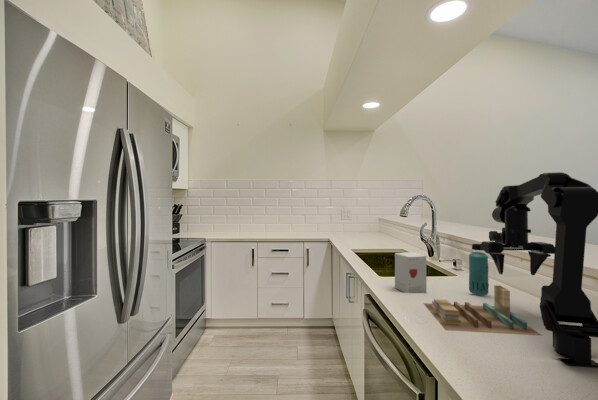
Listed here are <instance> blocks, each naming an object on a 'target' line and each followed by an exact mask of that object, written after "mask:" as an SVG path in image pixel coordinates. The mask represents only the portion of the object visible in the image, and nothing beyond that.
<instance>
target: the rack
mask: <svg viewBox="0 0 598 400" xmlns="http://www.w3.org/2000/svg"><path fill="white" fill-rule="evenodd" d="M451 304H452V303H451ZM423 305H424V306H425V307H426V309H427V310H428V311H429V312H430V313H431V314H432V316H433V317H434V319H435V320H436V321H437V322H439V324H440V325H441V326H442V328H443V329H444V330H445V331H456V332H457V331H458V332H469V333H471V332H472V333H487V334H488V333H490V334H491V333H492V334H509V335H512V334H513V335H524V336H526V335H527V336H543V334H541V333H540V332H539V331H538V330H537V331H536V329H533V328H532V327H530V326H529V325H528V322H527V321H526V320H525V319H523V318H521V317H520V316H518V315H516V314H515V313H513V312H511V311H510V319H509V318H507V317H506V316H504V315H503V314H502V313H500V312H499V311H497V310H496V309H495V307H494V305H493V306H492V305H490V304H489V303H487V302H483V303H482V305H473V304H471V303H470V302H468V301H466V302H464V304H460V303H458V301H453V304H452V305H453V306H454V307H455V308H456V309H457V310H458V311H459V315H458V318H459V319H460V320H461V325H458V324H445V322H444V321H443V320H442V319H441V318H440V317H439V316H438V314H437V313H436V312H435V311H434V310H433V309H432V303H428V302H427V303H424V302H423Z"/></svg>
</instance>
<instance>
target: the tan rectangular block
mask: <svg viewBox="0 0 598 400" xmlns="http://www.w3.org/2000/svg"><path fill="white" fill-rule="evenodd" d="M493 290H494V291H493V292H494V298H493V300H494V301H493V302H494V305H493V306H494V307H495V309H496V310H497V311H499V312H500V313H502V314H503V315H504V316H506V317H507V318H509V319H510V312H511V290H509V289H507V288H506V287H503V286H501V285H498V284H497V285H495V284H494V286H493Z"/></svg>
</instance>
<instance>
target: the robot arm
mask: <svg viewBox="0 0 598 400" xmlns="http://www.w3.org/2000/svg"><path fill="white" fill-rule="evenodd" d="M537 196H540V198H541V199H542V201H544V203H545V204H546V205H547V212H548V214H549V215H550V217H551V219H552V220H553V221H554V222H555V224H556V225H555V227H556V228H555V240H554V241H555V243H554V244H553V243H548V242H544V241H530V242H529V234H532V229H531V228H530V229H529V220H528V219H529V218H528V217H529V213H528V212H531V211H532V210H531V208H530V207H529V206H528V205H529V203H531V202H533V201H534V200H535V197H537ZM491 217H492V219H493V220H494V221H495V222H496V223H500V224H504V227H502V228H501V232H498V231H497V230H491V231H489V232H488V239H489V241H487V240H486V241H482V242H481V243H480V244H481V245H480V250H479V251H484V252H485V254H488V255H490V257H491V258H492V260H493V262H494V264H495V267H496V270H497V271H498V274H499V275H502V276H503V273H504V267H505V266H504V264H505V254H504V253H502V252H504V251H527V253H528V255H529V259H530V260H529V264H530V265H529V267H530V268H529V269H530V270H529V271H530V275H532V276H535V275H536V273H538V270H539V269H540V268H541V266H542V265H543V263H544V262H545V261H546V260H547V258H549V257H552V255H553V257H554V258H553V271H552V272H553V273H552V282H551V283H550V284H549V285H542V287H541V288H540V289H541V291H540V293H541V296H540V299H539V300H540V301H539V309H540V314H541V319H542V323H543V326H544V327H545V328H544V329H545V330H546V331H549V332H552V347H553V348H554V352H555V353H556V354H558V355H559V356H561V357H563V358H560V357H558V358H557V359H558V360H560V361H561V362H563V363H564V364H565V365H567V366H577V367H590V368H591V367H593V368H594V367H595V368H598V362H596V361H595V360H593V359H592V338H597V339H598V318H597V317H596V315H595V313H594V312H593V310H592V303H591V299H589V297H588V295H586V293H585V291H584V290H583V275H584V266H585V265H584V264H585V252H586V250H585V249H586V238H587V229H588V226H589V225H590V224H591V223H593V222H594V220H595V219H596V218H598V190H596V189H595V188H594V187H592V185H590V183H589V184H588V183H586V182H584V181H581V180H578V179H576V178H573V177H572V176H570V175H569V174H567V173H565V172H562V171H561V172H543V173H540V174H539V175H538V176H536V177H535V178H532V179H530V180H527V181H525V182H522V183H521V184H515V185H512V184H511V185H505V186H503V187H502V188H501V189H500V192H499V194H498V196H497V198H496V199H495V208H494V209H493V211H492V213H491ZM559 322H560V323H559ZM563 323H570V324H563ZM573 324H581V325H573Z"/></svg>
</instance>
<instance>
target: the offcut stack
mask: <svg viewBox="0 0 598 400" xmlns="http://www.w3.org/2000/svg"><path fill="white" fill-rule="evenodd" d="M431 304H432V309H433V310H434V311H435V312H436V313H437V314H438V316H439V317H440V318H441V319H442V320H443V321H444V322H445V324H458V325H461V320H460V319H459V318H458V315H459V311H458V310H457V309H456V308H455V307H454V306H453V305H454V304H453V305H452V303H451V302H450V301H448V300H447V299H442V298H441V299H439V298H438V299H437V298H436V299H435V298H434V299H433V300H432V303H431Z"/></svg>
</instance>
